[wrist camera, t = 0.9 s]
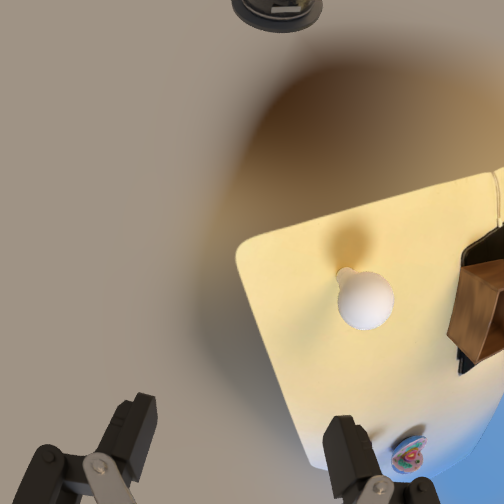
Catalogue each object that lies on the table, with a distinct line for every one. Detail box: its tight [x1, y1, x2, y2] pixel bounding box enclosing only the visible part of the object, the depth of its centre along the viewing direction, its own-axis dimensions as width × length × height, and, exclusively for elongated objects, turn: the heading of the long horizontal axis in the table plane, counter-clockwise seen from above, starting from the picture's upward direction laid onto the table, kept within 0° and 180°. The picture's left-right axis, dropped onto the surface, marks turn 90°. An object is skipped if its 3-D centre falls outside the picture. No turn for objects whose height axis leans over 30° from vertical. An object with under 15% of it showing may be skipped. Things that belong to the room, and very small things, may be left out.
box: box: [447, 259, 504, 364], centre depth 31 cm, size 13×13×10 cm
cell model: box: [391, 436, 427, 474], centre depth 42 cm, size 10×12×10 cm
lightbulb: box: [336, 267, 394, 330], centre depth 29 cm, size 6×6×11 cm
